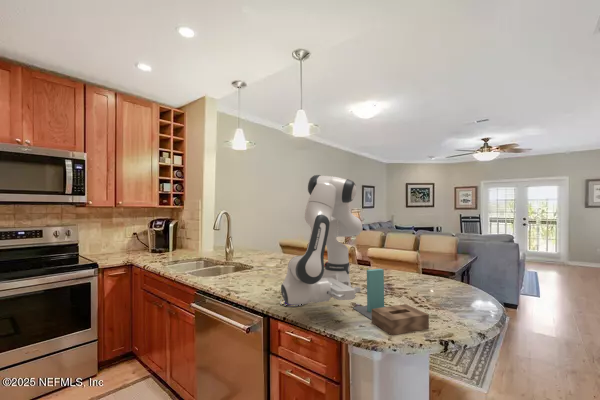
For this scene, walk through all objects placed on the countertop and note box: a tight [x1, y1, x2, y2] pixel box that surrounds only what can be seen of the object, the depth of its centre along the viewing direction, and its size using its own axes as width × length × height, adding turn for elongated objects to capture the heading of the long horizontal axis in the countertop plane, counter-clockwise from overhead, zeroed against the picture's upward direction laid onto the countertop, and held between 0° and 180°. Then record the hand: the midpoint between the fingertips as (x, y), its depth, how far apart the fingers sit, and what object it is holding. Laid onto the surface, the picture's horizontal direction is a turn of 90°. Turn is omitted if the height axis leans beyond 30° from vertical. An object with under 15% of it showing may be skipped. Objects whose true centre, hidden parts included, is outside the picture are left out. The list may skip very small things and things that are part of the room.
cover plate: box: [366, 268, 385, 313], centre depth 121 cm, size 7×2×17 cm, turn 110°
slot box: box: [371, 303, 430, 336], centre depth 107 cm, size 16×12×5 cm
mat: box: [352, 305, 387, 321], centre depth 121 cm, size 14×14×1 cm
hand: (353, 286), depth 118 cm, fingers open, 8 cm apart
